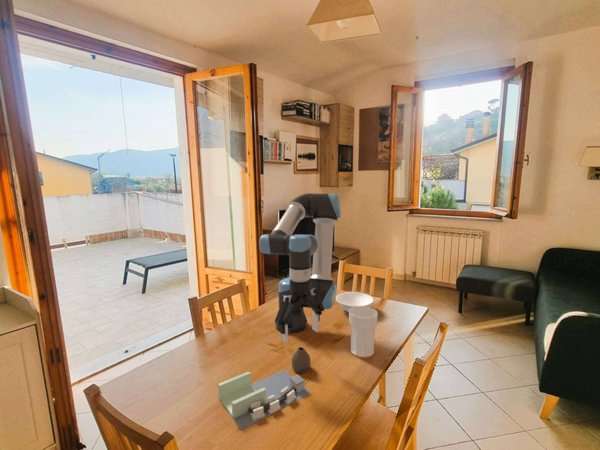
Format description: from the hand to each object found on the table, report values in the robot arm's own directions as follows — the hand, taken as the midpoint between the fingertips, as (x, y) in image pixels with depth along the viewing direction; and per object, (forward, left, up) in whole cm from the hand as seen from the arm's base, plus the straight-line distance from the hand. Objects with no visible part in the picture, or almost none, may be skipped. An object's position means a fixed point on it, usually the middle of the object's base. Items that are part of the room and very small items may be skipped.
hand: (300, 335), depth 115 cm
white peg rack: (+9, -16, -13) cm, 22 cm away
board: (+5, -18, -14) cm, 23 cm away
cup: (+5, +27, -14) cm, 31 cm away
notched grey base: (+9, -16, -12) cm, 23 cm away
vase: (0, 0, -14) cm, 14 cm away
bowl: (-25, +53, -14) cm, 61 cm away
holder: (+2, -25, -13) cm, 28 cm away
